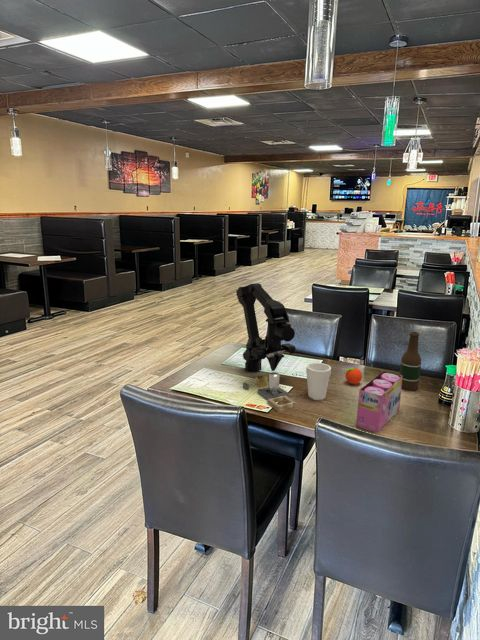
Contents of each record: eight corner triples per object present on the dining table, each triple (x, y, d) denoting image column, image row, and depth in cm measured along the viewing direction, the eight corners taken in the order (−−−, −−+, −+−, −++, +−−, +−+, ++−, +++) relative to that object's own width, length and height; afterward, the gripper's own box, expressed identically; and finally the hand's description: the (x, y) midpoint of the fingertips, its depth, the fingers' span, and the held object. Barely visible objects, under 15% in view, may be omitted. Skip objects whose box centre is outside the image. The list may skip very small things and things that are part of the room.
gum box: (380, 402, 166) (383, 369, 163) (401, 408, 162) (405, 374, 158) (355, 426, 148) (358, 389, 144) (377, 433, 143) (381, 395, 140)
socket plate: (267, 382, 183) (267, 376, 182) (292, 399, 167) (292, 392, 167) (238, 388, 176) (238, 382, 175) (261, 406, 161) (262, 398, 160)
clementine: (346, 387, 180) (348, 371, 178) (339, 380, 186) (341, 365, 184) (364, 386, 181) (366, 370, 180) (356, 379, 188) (358, 364, 186)
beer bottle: (418, 386, 182) (425, 331, 176) (417, 392, 175) (424, 336, 169) (399, 382, 185) (405, 329, 179) (397, 389, 179) (403, 333, 173)
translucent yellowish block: (263, 382, 180) (263, 375, 179) (267, 385, 177) (267, 377, 176) (255, 384, 178) (255, 376, 177) (259, 387, 175) (259, 379, 174)
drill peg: (274, 392, 171) (275, 371, 169) (280, 396, 167) (281, 375, 165) (266, 394, 169) (267, 373, 167) (271, 398, 166) (272, 376, 163)
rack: (284, 401, 165) (285, 395, 165) (295, 409, 159) (295, 402, 159) (267, 405, 161) (267, 399, 161) (277, 413, 155) (277, 406, 155)
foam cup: (313, 405, 163) (316, 373, 159) (299, 395, 171) (301, 364, 167) (333, 400, 167) (336, 369, 164) (319, 391, 175) (321, 361, 172)
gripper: (282, 327, 186) (280, 361, 190) (244, 332, 177) (243, 367, 181) (297, 333, 177) (295, 369, 181) (258, 339, 168) (257, 377, 172)
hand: (272, 370), depth 179 cm, fingers closed
